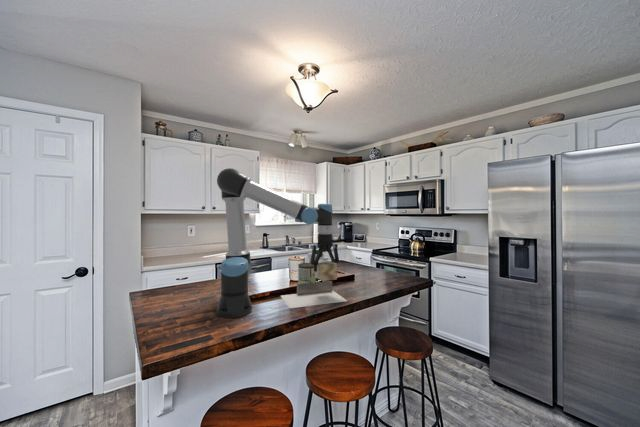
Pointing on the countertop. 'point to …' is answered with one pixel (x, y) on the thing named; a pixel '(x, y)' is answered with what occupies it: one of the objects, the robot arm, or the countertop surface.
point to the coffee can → (306, 273)
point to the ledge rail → (314, 287)
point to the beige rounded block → (327, 270)
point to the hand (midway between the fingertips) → (324, 276)
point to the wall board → (312, 299)
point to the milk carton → (315, 257)
